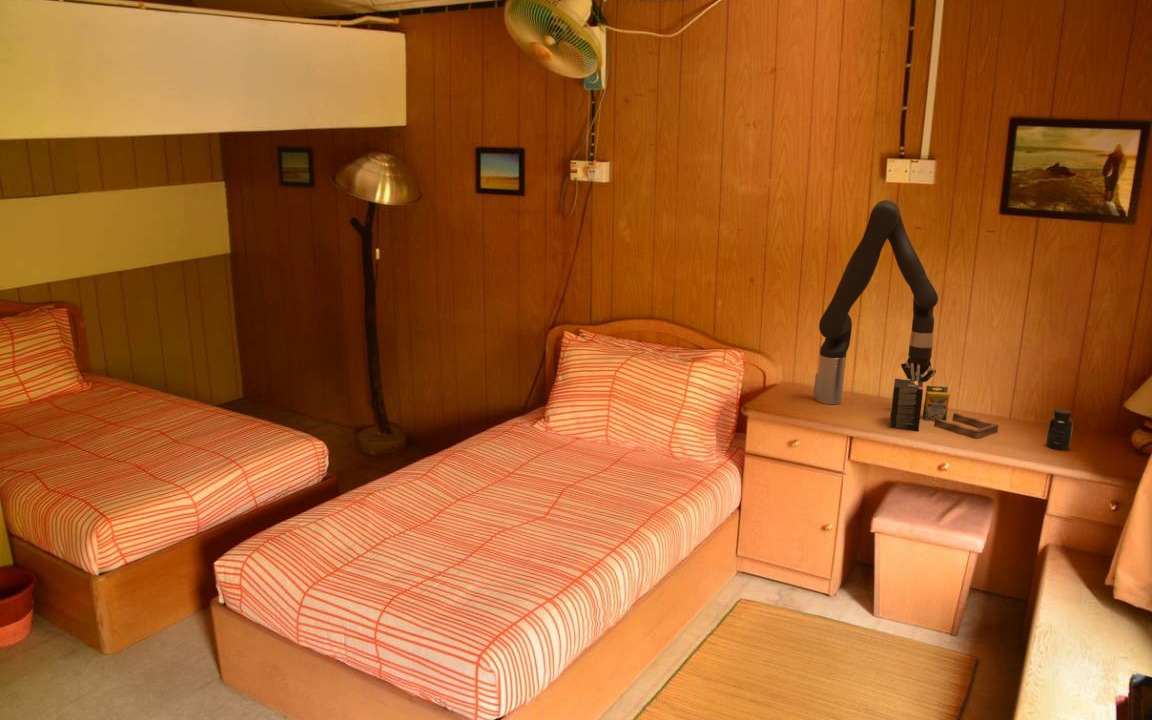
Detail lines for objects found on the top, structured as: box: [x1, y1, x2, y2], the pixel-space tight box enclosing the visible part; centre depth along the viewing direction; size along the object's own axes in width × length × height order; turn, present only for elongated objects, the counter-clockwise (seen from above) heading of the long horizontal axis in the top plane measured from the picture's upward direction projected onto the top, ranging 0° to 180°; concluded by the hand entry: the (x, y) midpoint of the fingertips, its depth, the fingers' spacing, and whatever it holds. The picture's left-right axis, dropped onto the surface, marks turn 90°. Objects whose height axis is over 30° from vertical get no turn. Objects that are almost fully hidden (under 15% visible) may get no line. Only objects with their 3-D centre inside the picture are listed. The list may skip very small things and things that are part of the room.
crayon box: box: [922, 385, 950, 421], centre depth 315 cm, size 7×3×12 cm, turn 83°
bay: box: [933, 412, 999, 440], centre depth 307 cm, size 16×12×2 cm
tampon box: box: [889, 378, 924, 432], centre depth 308 cm, size 11×9×15 cm
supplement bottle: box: [1045, 408, 1074, 451], centre depth 291 cm, size 7×7×12 cm
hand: (915, 392), depth 320 cm, fingers closed
